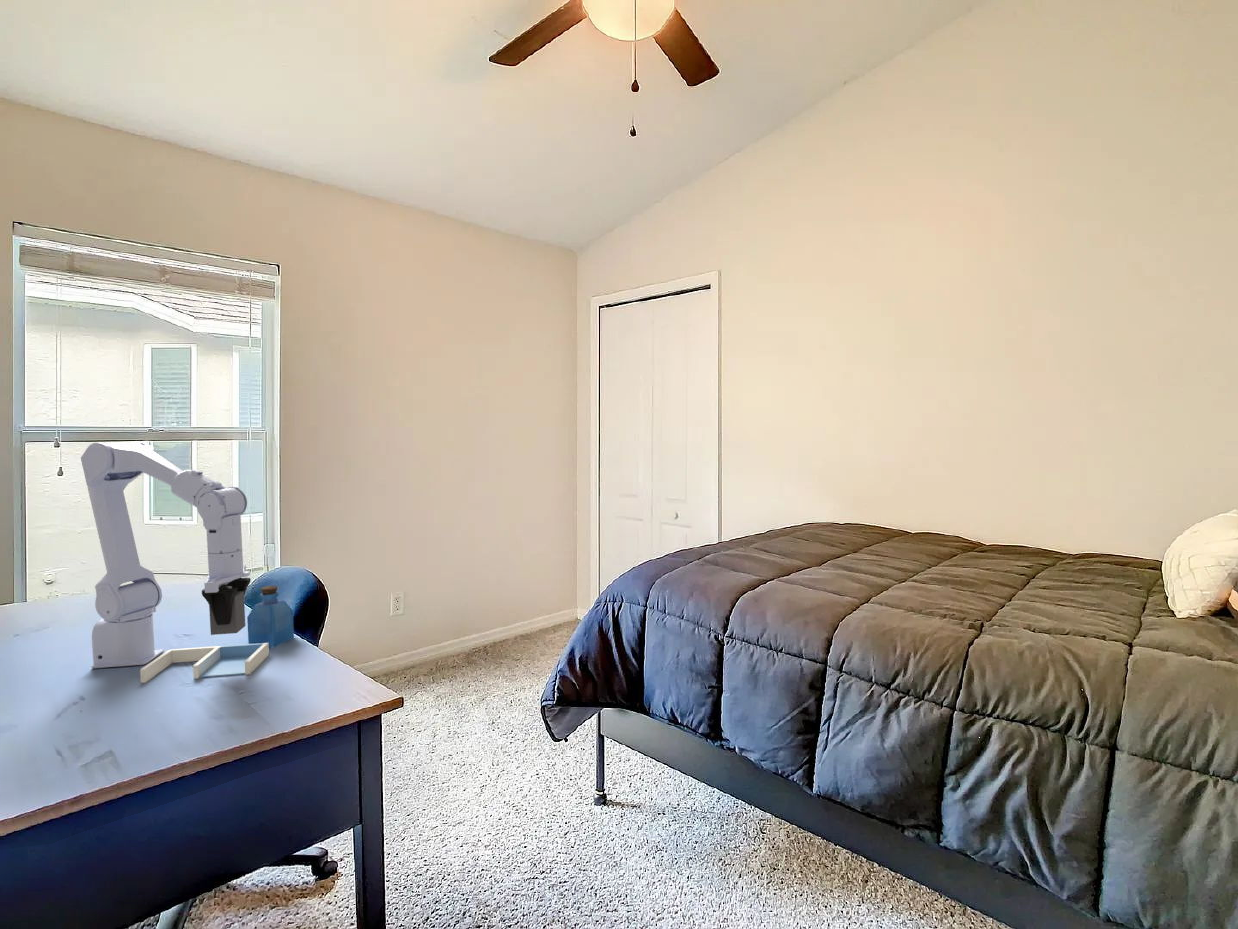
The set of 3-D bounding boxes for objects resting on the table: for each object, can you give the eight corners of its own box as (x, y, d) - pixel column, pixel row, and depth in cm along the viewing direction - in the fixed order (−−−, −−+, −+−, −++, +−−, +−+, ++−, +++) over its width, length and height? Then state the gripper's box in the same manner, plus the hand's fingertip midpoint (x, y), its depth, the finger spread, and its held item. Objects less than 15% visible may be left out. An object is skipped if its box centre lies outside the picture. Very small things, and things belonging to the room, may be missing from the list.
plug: (210, 634, 123) (208, 590, 122) (220, 627, 127) (218, 585, 127) (236, 633, 124) (234, 589, 123) (245, 626, 128) (243, 583, 128)
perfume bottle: (273, 647, 138) (271, 591, 137) (248, 645, 139) (245, 590, 138) (293, 637, 144) (291, 584, 143) (269, 636, 145) (267, 583, 144)
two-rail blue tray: (140, 682, 119) (140, 669, 119) (169, 661, 130) (168, 649, 129) (249, 674, 123) (249, 661, 122) (269, 654, 133) (268, 642, 133)
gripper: (233, 557, 118) (236, 630, 119) (261, 543, 132) (264, 608, 133) (190, 559, 117) (194, 633, 118) (223, 544, 131) (226, 610, 132)
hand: (228, 620), depth 125 cm, fingers closed on plug, 4 cm apart
